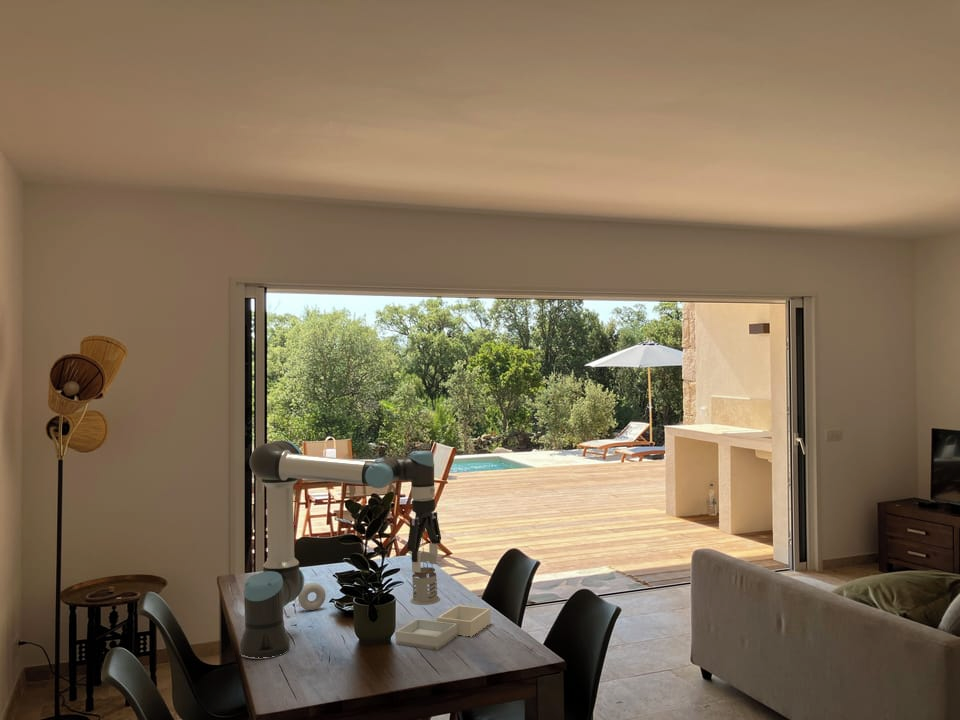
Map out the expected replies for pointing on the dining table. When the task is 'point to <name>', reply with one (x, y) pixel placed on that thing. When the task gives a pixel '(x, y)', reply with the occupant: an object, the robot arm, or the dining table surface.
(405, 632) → the tray
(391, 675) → the dining table surface
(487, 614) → the cream open box
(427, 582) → the french press
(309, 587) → the donut
